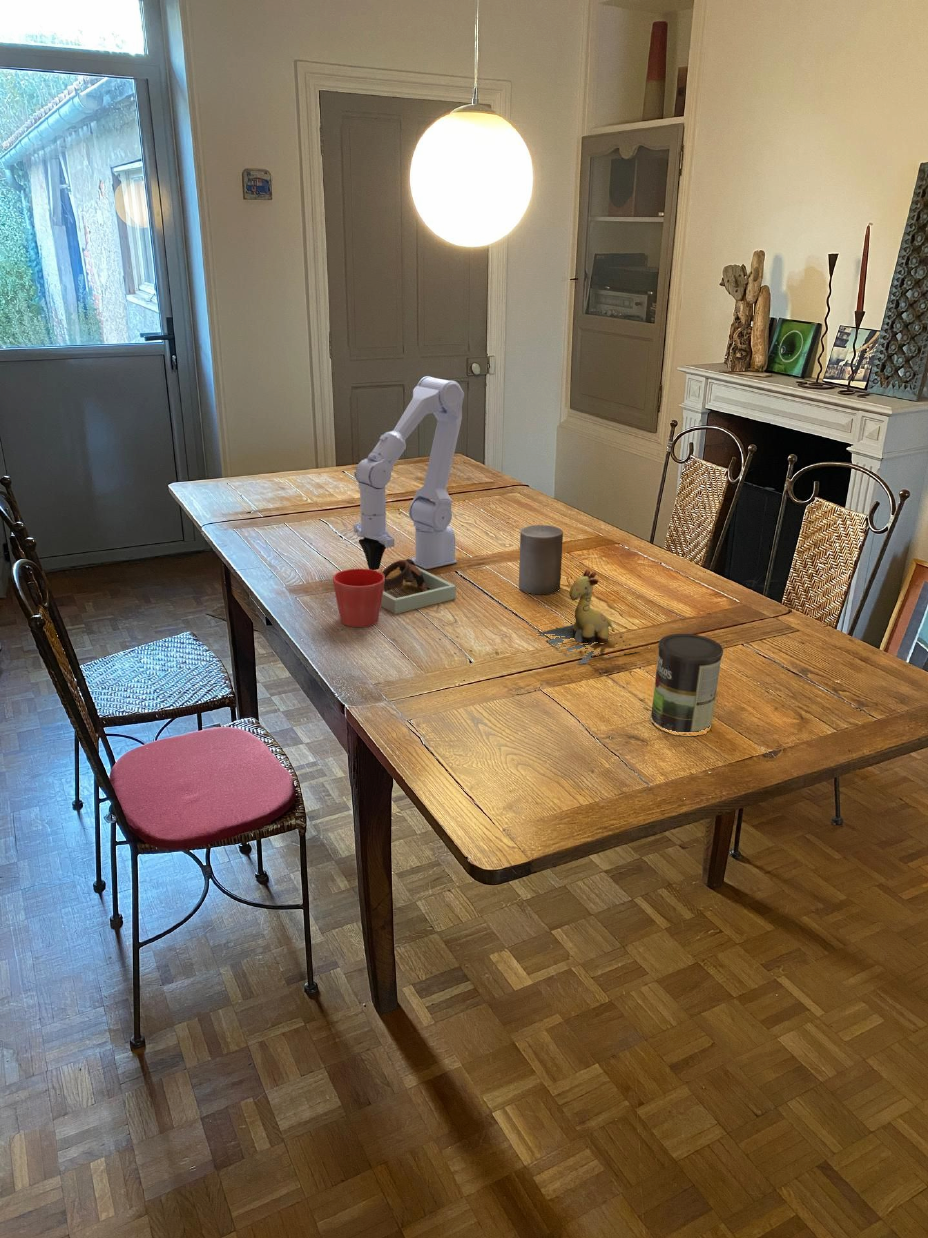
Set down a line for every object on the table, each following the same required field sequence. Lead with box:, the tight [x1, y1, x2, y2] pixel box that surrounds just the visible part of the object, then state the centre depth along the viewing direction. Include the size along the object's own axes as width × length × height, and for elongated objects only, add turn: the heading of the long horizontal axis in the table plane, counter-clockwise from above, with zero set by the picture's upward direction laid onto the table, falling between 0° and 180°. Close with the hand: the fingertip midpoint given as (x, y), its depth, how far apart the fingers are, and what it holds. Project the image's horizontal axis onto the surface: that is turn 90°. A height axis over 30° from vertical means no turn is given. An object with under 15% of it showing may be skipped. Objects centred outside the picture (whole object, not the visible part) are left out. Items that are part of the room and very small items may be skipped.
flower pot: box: [332, 568, 385, 628], centre depth 194 cm, size 11×11×10 cm
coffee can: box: [650, 633, 724, 732], centre depth 156 cm, size 10×10×14 cm
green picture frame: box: [381, 565, 457, 615], centre depth 210 cm, size 16×17×3 cm
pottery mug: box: [382, 558, 428, 592], centre depth 212 cm, size 12×10×8 cm
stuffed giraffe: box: [536, 568, 616, 666], centre depth 186 cm, size 16×18×16 cm
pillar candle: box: [518, 524, 564, 596], centre depth 213 cm, size 10×10×15 cm
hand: (374, 568), depth 219 cm, fingers closed
